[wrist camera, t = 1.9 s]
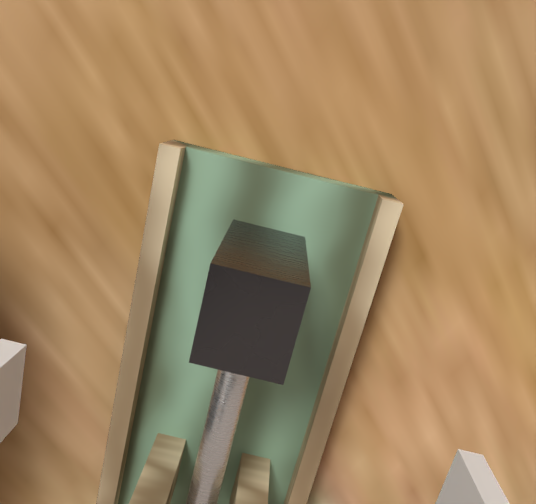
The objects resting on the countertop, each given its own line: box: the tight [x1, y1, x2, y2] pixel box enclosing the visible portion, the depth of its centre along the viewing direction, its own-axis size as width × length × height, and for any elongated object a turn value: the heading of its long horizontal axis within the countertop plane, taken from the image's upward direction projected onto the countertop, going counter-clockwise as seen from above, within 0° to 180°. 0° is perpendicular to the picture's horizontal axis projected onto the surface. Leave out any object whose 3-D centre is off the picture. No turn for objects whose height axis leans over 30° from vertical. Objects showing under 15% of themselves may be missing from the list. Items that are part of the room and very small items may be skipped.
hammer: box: [186, 219, 311, 504], centre depth 28 cm, size 26×5×10 cm, turn 166°
